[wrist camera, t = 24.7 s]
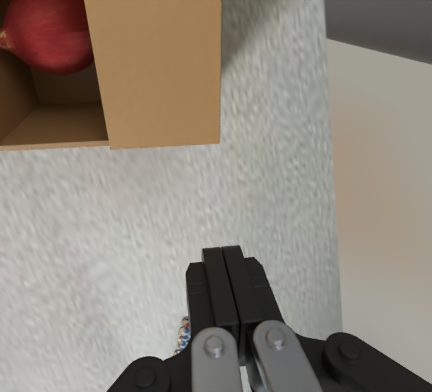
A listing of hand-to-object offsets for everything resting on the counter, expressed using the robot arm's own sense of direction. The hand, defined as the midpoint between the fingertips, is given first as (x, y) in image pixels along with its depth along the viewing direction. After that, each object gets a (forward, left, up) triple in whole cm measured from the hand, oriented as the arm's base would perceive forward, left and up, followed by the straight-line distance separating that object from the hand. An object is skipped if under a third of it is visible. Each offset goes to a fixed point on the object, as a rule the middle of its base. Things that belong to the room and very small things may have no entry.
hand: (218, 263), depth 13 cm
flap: (+2, -7, -11) cm, 14 cm away
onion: (+6, -7, -20) cm, 22 cm away
